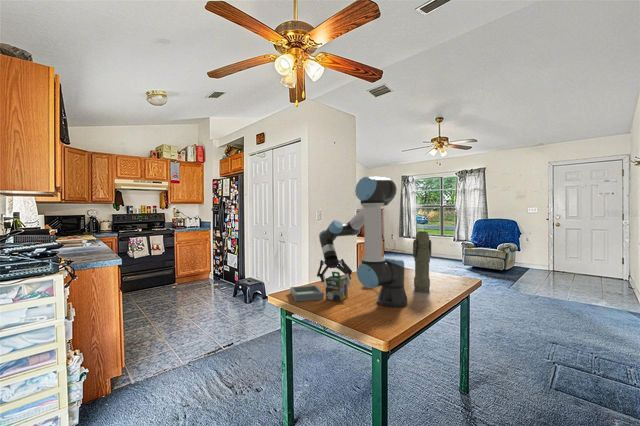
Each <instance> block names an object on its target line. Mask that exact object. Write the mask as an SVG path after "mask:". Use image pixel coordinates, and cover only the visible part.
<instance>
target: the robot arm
mask: <svg viewBox="0 0 640 426" xmlns="http://www.w3.org/2000/svg"><path fill="white" fill-rule="evenodd" d="M354 192H355V197H356V199H358V200H359V201H360V205H361V207H362V208H360V210H359V211H358V212H357V213H356V214H355V215H354V216H353V217H352V218H351V219H350V220H349V221H348V222H347V223H345V222H344V223H342V222H341V221H340V220H337V219H333V220H332V221H331V223H330V224H329V225H328V227H327V228H326V229H325V230H322V231H320V232H319V233H318V238H319V243H320V247H321V250H322V255H323V259H324V260H322V259H321V260H320V262H319V268H318V271H317V274H316V277H318V278H319V279H320V281H321V283H323V286H324V287H323V288H324V289H326V287H327V284H326V275H325V274H326V273H327V271H328V270H329V269H337V270H339V271H340V272H341V273H343V274H344V275H345V277H347V287H351V285H352V282H351V279H352V277H351V275H352V274H353V270H352V269H351V267H350V266H348V265H347V263H346V262H345V260H344V259H343V258H341V260H340V259H338V254H337V251H336V247H335V244H334V241H335V240H336V239H337V238H338V237H348V236H351V237H352V236H357V235H359V234H360V232H361V228H362V227H363V232H364V233H363V237H364V255H363V257H362V258H361V264H360V265H358V267H357V270H356V275H357V279H358V281H359V282H360V284H361V285H362V286H364V287H365V288H368V289H370V288H371V289H373V288H377V287H380V290H379V293H378V295H377V302H378V304H380V305H383V306H386V307H390V308H391V307H392V308H402V307H405V306H408V300H409V299H408V296H407V293H406V290H405V261H404V260H403V259H402V258H401V259H400V258H395V257H386V256H383V234H382V233H383V227H382V225H383V224H382V215H383V214H382V208H383V207H386V206H388V205H389V204H390V203H391V202H392V201H393V200H394V198H395V197H396V195H397V185H396V183H395V182H394V181H393V180H392V178H391V179H390V178H388V177H381V176H374V175H373V176H363V177H362V178H360V179H359V181H358V182H356V186H355V191H354ZM324 265H325V267H324V269H323V270H322V268H323V266H324ZM321 270H322V272H321Z"/></svg>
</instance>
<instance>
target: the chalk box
mask: <svg viewBox="0 0 640 426" xmlns="http://www.w3.org/2000/svg"><path fill="white" fill-rule="evenodd" d="M331 275H332V276H331ZM331 275H330V276H328V277H325V279H326V284H327V287H326V288H325V299H326V300H329V301H333V302H338V303H340V302H342V301H344V300H345V299H347V298H349V297H348V296H349V295H348V294H349V293H348V292H349V290H348V287H349V286H348V283H347V277H346V275H344V276H343V275H341V273H340V272H339V271H331Z"/></svg>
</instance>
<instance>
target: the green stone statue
mask: <svg viewBox="0 0 640 426" xmlns="http://www.w3.org/2000/svg"><path fill="white" fill-rule="evenodd" d="M431 256H432V240H431V239H430V236H429V233H428V232H427V231H424V230H423V231H422V230H419V231H417V232H416V233H415V239H413V241H412V257H413V260H414V277H413V287H414V291H415V292H417V293H418V292H419V293H429V292H430V287H431V280H430V262H431Z"/></svg>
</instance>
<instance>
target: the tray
mask: <svg viewBox="0 0 640 426" xmlns="http://www.w3.org/2000/svg"><path fill="white" fill-rule="evenodd" d="M290 295H291V296H292V299H293V300H294V302H296V303H297V302H308V301H321V300H324V298H325V297H324V295H325V294H324V291H322V290H321V288H320V287H319V286H318V285H316V284H315V285H302V286H290Z"/></svg>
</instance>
